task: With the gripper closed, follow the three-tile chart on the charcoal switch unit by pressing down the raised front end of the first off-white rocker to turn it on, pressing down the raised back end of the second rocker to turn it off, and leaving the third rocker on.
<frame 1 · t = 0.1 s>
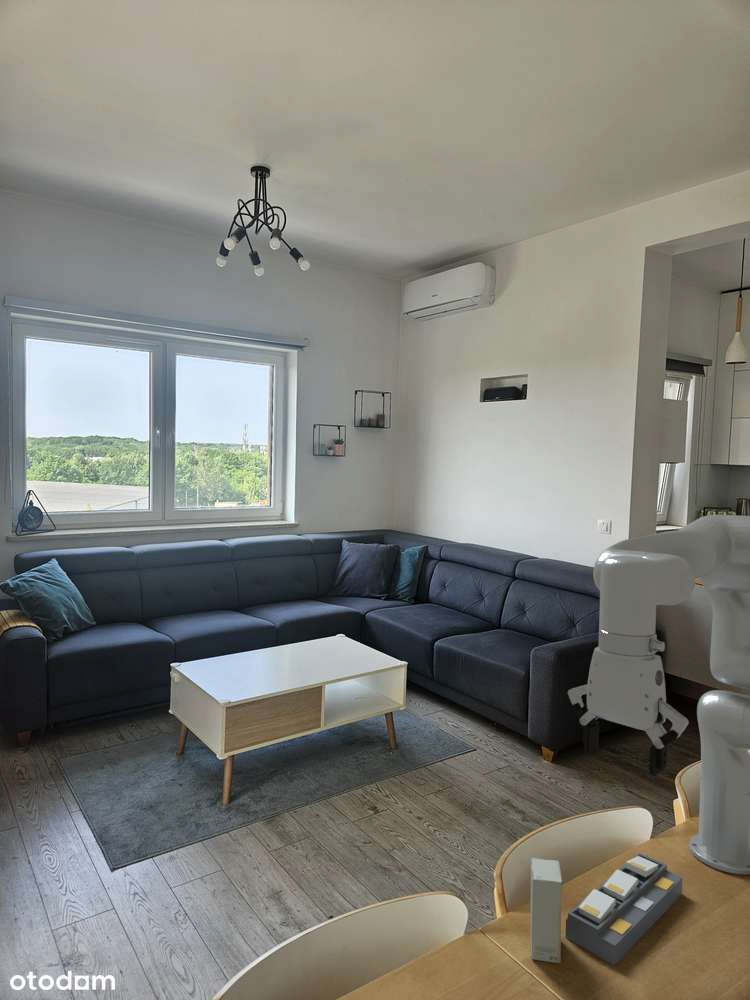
hand: (622, 761, 93), 31 cm above the table, tool pointing down, fingers open, 9 cm apart
skincare box: (544, 949, 99), on the table
rocker 1: (641, 866, 113), point 4 cm above the table, hinge at -10.0°
switch unit: (626, 914, 107), on the table
rocker 2: (620, 884, 108), point 4 cm above the table, hinge at 10.0°
rocker 3: (597, 905, 102), point 4 cm above the table, hinge at 10.0°
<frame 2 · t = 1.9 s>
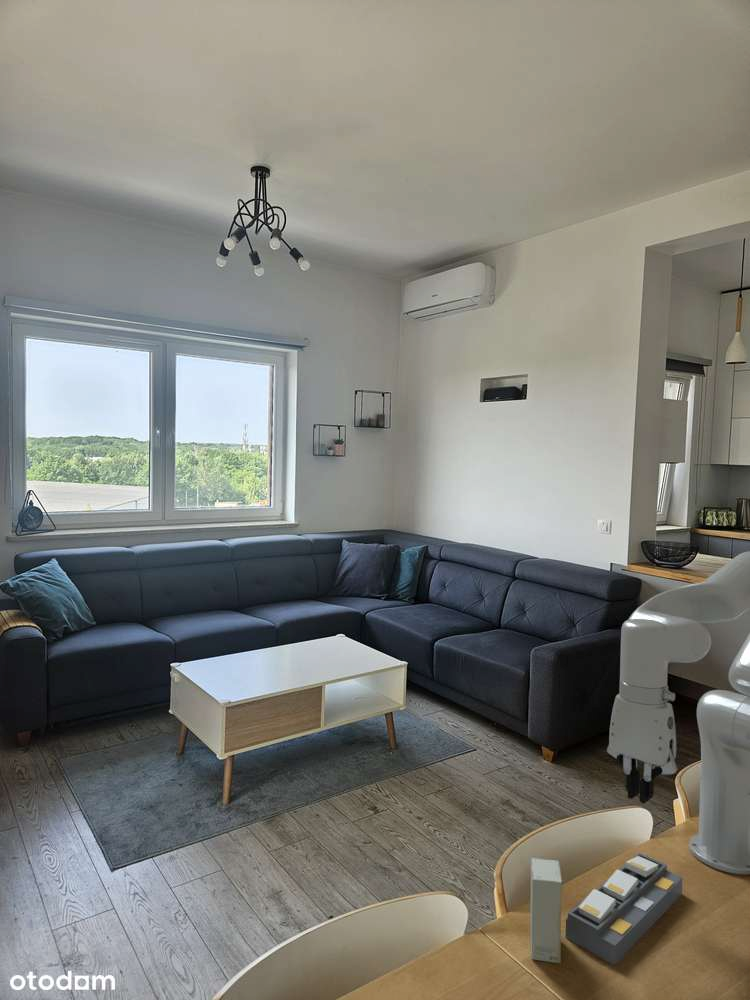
hand: (639, 797, 112), 17 cm above the table, tool pointing down, fingers closed
nothing on the table moved.
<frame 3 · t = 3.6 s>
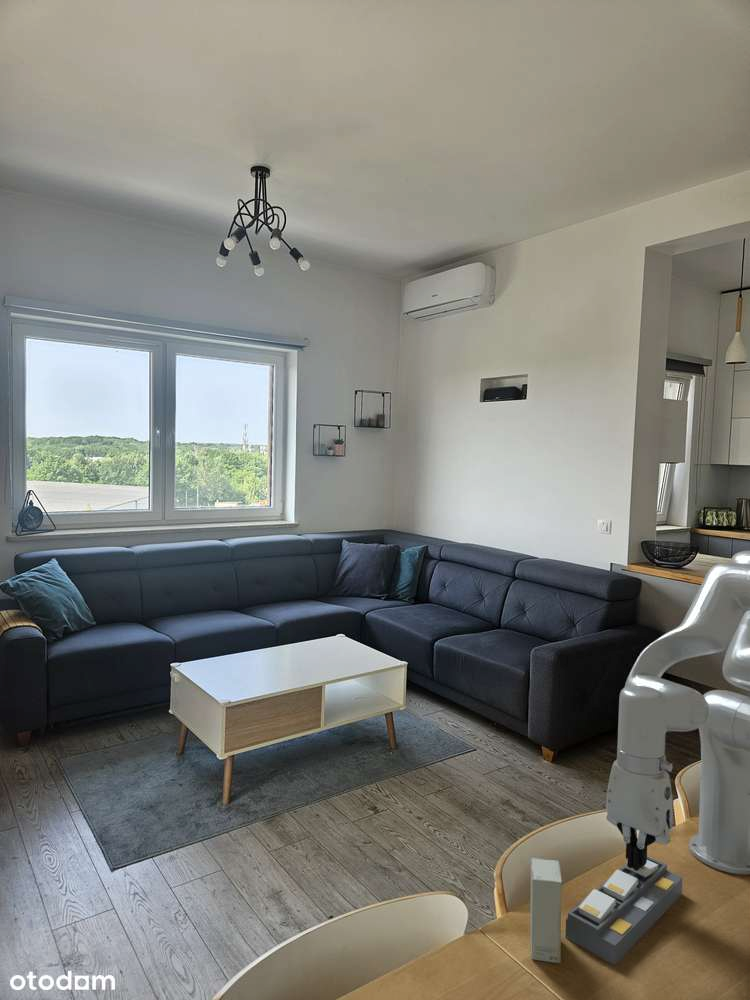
hand: (635, 865, 112), 5 cm above the table, tool pointing down, fingers closed
rocker 1: (641, 866, 113), point 4 cm above the table, hinge at -10.0°, touching gripper
everything else where it was.
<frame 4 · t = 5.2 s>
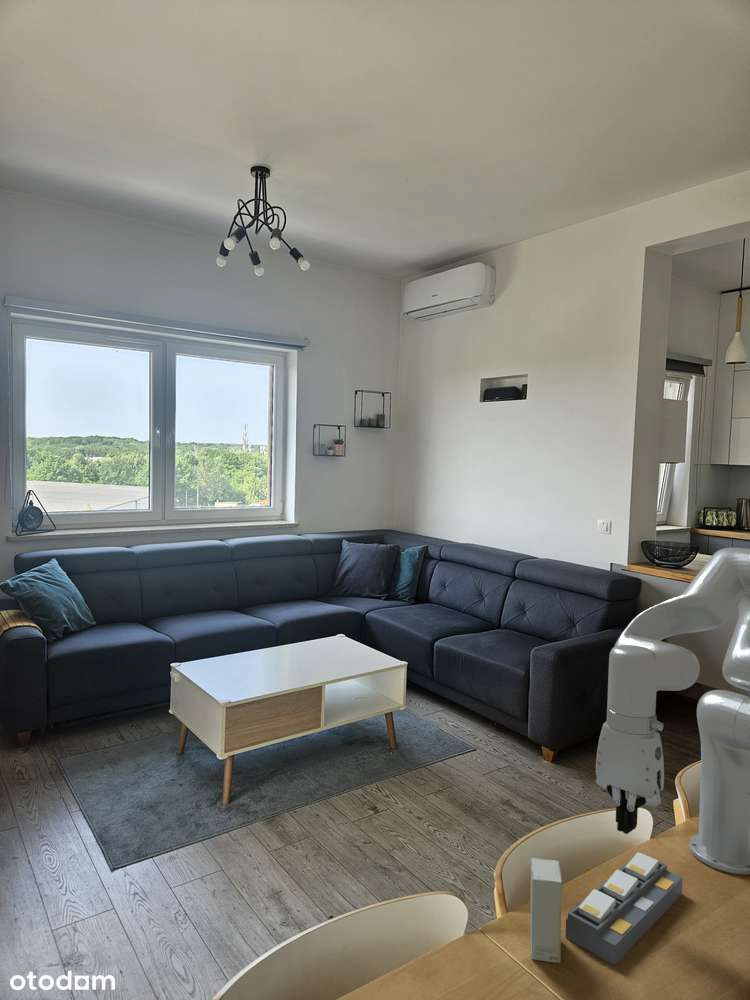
hand: (625, 829, 109), 13 cm above the table, tool pointing down, fingers closed
rocker 1: (641, 866, 113), point 4 cm above the table, hinge at 8.3°
everything else where it was.
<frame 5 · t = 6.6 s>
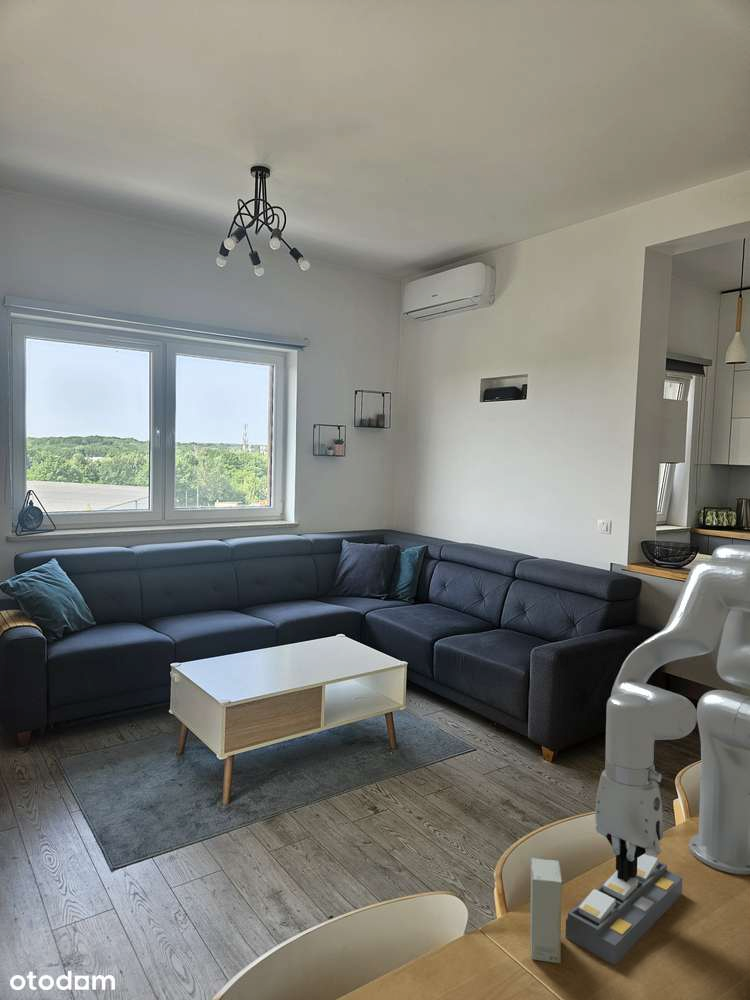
hand: (626, 877, 109), 5 cm above the table, tool pointing down, fingers closed
rocker 1: (641, 866, 113), point 4 cm above the table, hinge at 19.2°
rocker 2: (620, 884, 108), point 4 cm above the table, hinge at 6.4°, touching gripper
everything else where it was.
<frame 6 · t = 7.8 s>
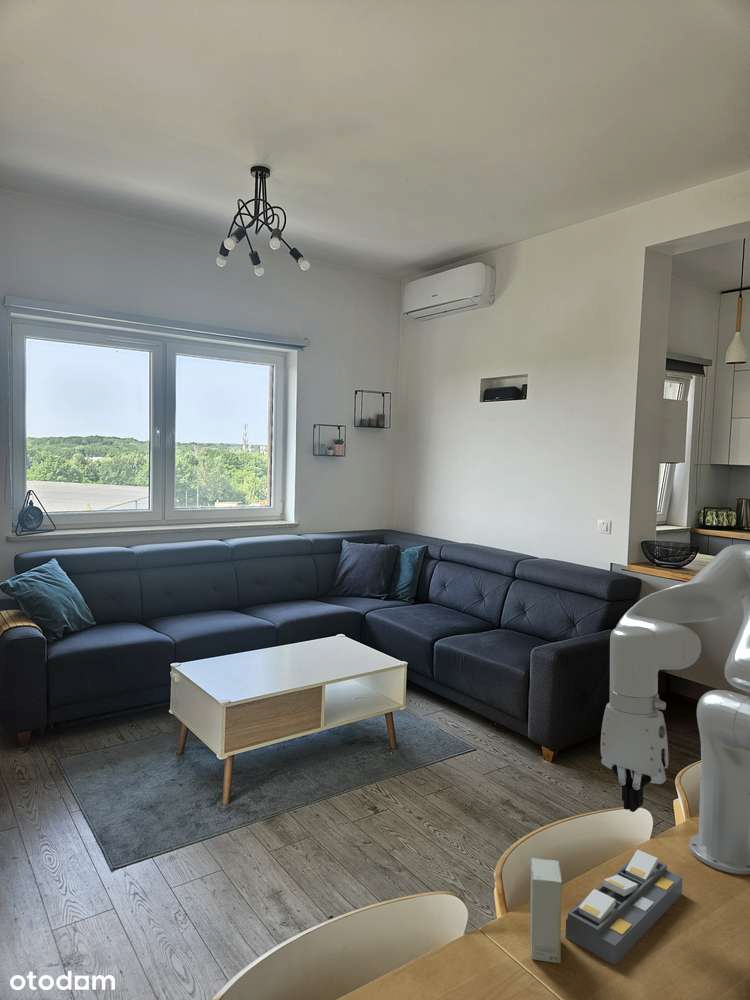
hand: (632, 807, 110), 16 cm above the table, tool pointing down, fingers closed
rocker 1: (641, 866, 113), point 4 cm above the table, hinge at 22.1°, touching switch unit
rocker 2: (620, 884, 108), point 4 cm above the table, hinge at -13.1°
everything else where it was.
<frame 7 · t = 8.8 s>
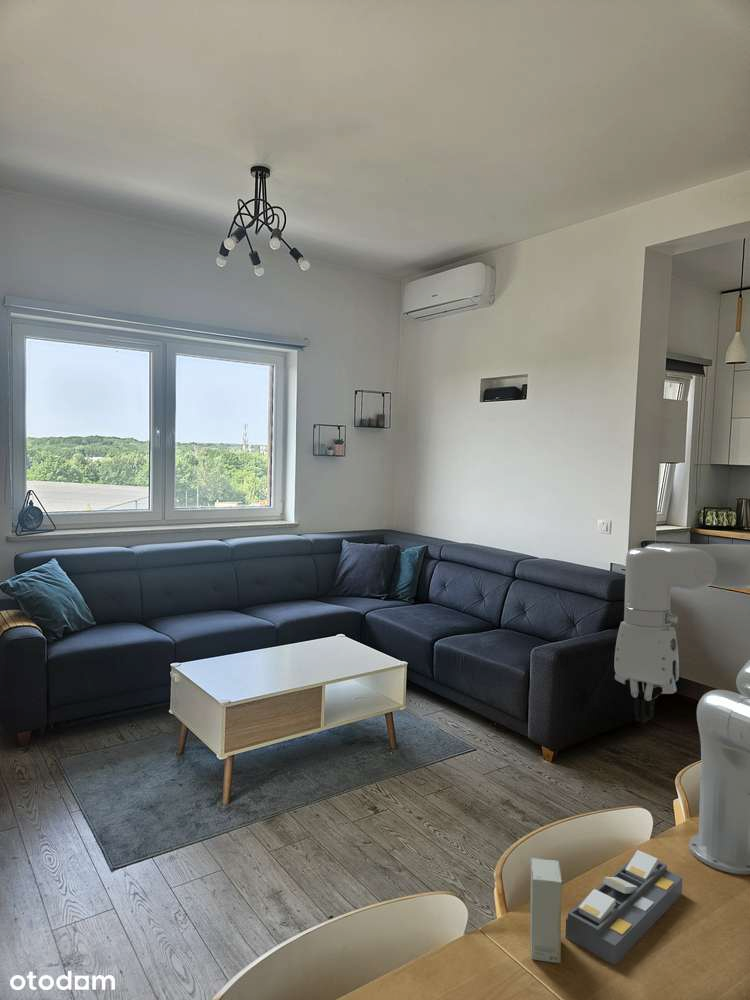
hand: (643, 719, 116), 29 cm above the table, tool pointing down, fingers closed
rocker 1: (641, 866, 113), point 4 cm above the table, hinge at 19.0°
rocker 2: (620, 884, 108), point 4 cm above the table, hinge at -22.5°, touching switch unit
everything else where it was.
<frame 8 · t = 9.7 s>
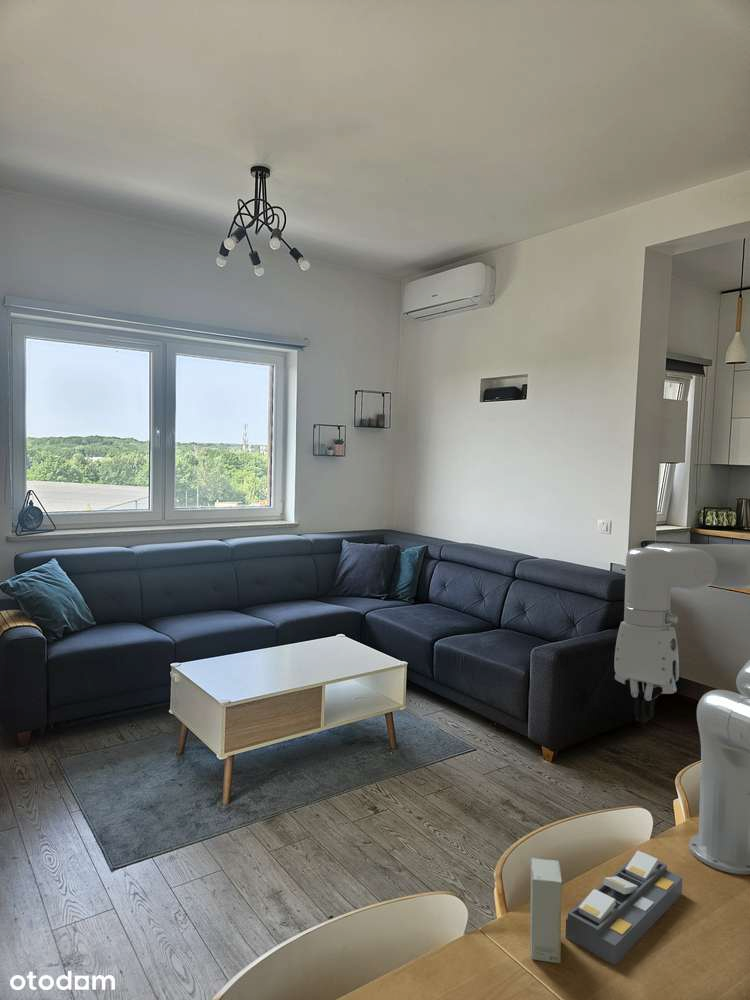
hand: (643, 719, 116), 29 cm above the table, tool pointing down, fingers closed
rocker 1: (641, 866, 113), point 4 cm above the table, hinge at 16.9°
rocker 2: (620, 884, 108), point 4 cm above the table, hinge at -19.6°
everything else where it was.
at the end: rocker 1 at +16° (first picture: -10°); rocker 2 at -19° (first picture: +10°); rocker 3 at +10° (first picture: +10°) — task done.
